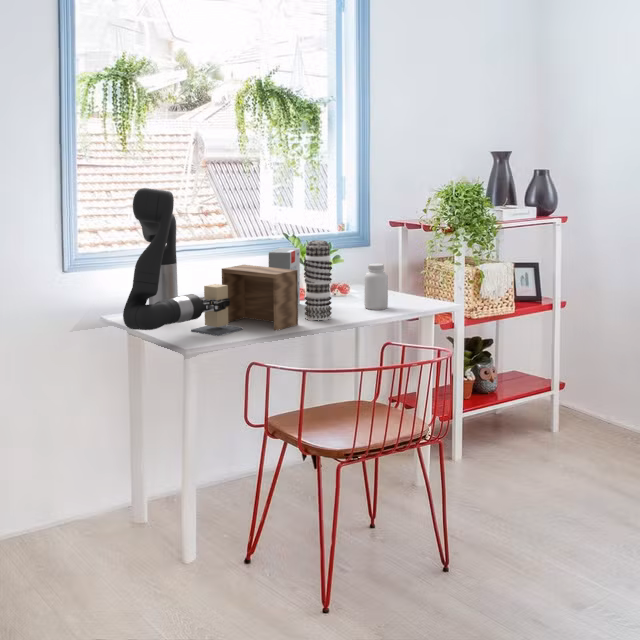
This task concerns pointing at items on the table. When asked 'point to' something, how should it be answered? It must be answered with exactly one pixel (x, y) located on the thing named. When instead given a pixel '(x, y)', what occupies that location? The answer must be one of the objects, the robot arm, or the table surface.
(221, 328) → the mat
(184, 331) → the table surface
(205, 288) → the block
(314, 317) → the decorative candle
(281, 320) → the cubby
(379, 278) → the pill bottle
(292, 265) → the hard drive box
